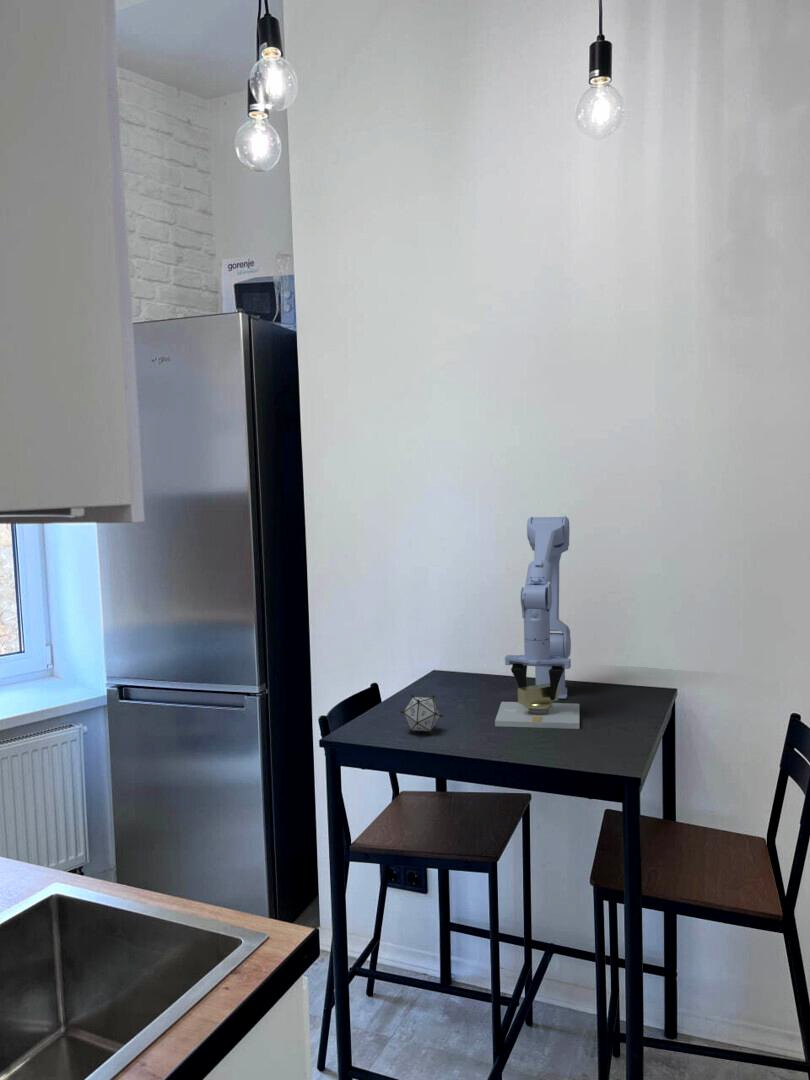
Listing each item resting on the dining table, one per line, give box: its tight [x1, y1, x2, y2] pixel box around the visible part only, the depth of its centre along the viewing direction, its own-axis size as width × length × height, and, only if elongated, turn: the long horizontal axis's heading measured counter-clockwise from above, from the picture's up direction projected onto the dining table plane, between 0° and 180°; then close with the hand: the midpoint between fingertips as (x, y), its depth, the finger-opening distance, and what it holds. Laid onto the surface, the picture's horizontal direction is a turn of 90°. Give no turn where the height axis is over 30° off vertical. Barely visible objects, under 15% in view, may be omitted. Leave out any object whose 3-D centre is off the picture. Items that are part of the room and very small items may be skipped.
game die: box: [399, 693, 444, 736], centre depth 180 cm, size 9×8×10 cm
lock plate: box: [494, 701, 581, 730], centre depth 189 cm, size 16×18×2 cm
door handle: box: [517, 683, 559, 709], centre depth 189 cm, size 6×9×4 cm
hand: (538, 698), depth 189 cm, fingers closed on door handle, 6 cm apart
